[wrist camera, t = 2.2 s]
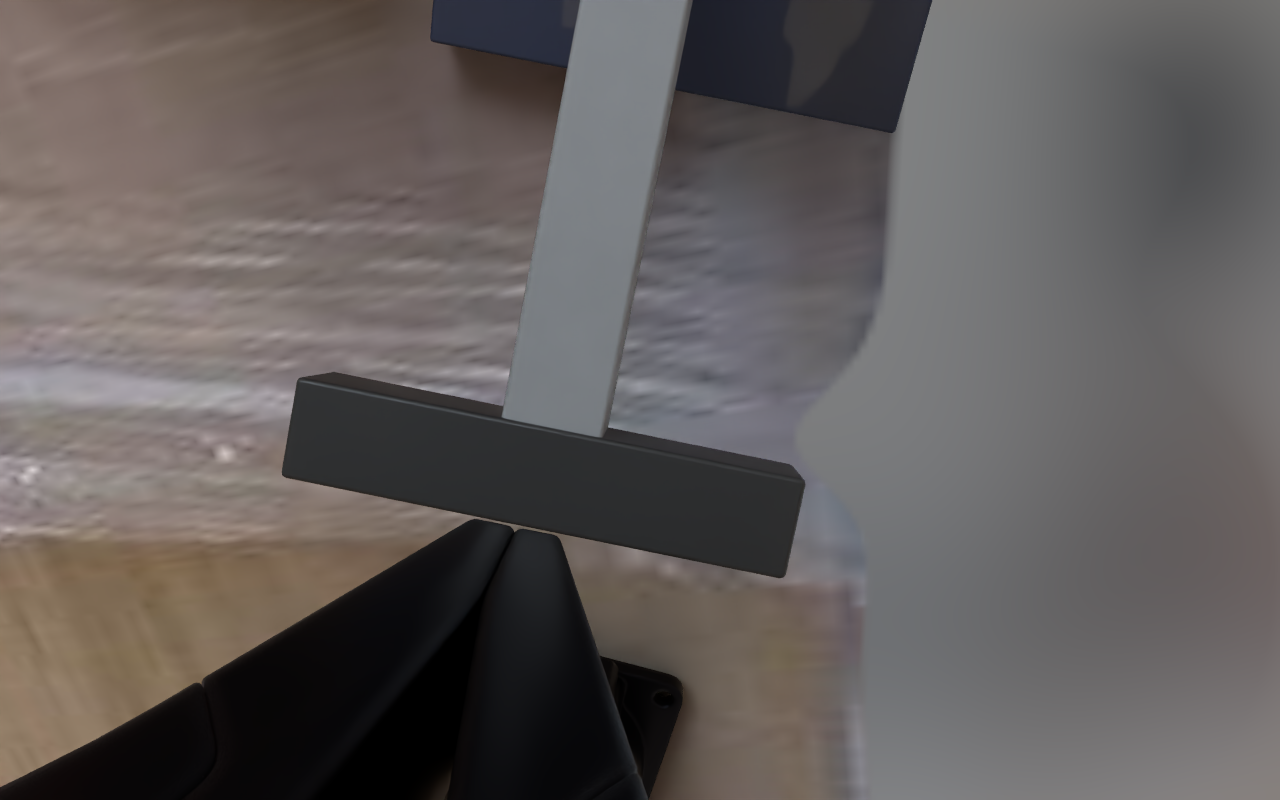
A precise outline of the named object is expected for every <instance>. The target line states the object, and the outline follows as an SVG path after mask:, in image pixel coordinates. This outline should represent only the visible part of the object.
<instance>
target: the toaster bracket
mask: <svg viewBox="0 0 1280 800" xmlns="http://www.w3.org/2000/svg"><path fill="white" fill-rule="evenodd" d="M931 3H932V0H693V2H692V7H691V12H690V17H689V22H688V27H687V32H686V37H685V42H684V47H683V52H682V57H681V62H680V67H679V72H678V77H677V82H676V87H675V90H677V91H682V92H687V93H693V94H698V95H703V96H708V97H713V98H718V99H723V100H728V101H733V102H738V103H743V104H748V105H753V106H758V107H763V108H768V109H773V110H778V111H783V112H788V113H793V114H798V115H803V116H808V117H813V118H818V119H823V120H828V121H833V122H839V123H844V124H849V125H854V126H859V127H864V128H869V129H874V130H879V131H884V132H889V133H893V132H895V130H896V127H897V123H898V120H899V116H900V112H901V109H902V105H903V102H904V98H905V95H906V91H907V88H908V84H909V81H910V77H911V73H912V70H913V66H914V63H915V59H916V55H917V52H918V49H919V45H920V42H921V38H922V34H923V31H924V28H925V24H926V20H927V17H928V14H929V10H930V6H931ZM579 4H580V0H433V11H432V23H431V35H430V39H431V41H433V42H436V43H441V44H446V45H451V46H456V47H461V48H466V49H471V50H476V51H481V52H486V53H491V54H496V55H501V56H506V57H511V58H516V59H521V60H526V61H531V62H536V63H541V64H547V65H552V66H557V67H562V68H567V67H568V62H569V57H570V51H571V46H572V41H573V36H574V30H575V25H576V20H577V14H578V9H579Z"/></svg>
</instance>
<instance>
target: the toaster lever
mask: <svg viewBox="0 0 1280 800" xmlns="http://www.w3.org/2000/svg"><path fill="white" fill-rule="evenodd" d="M692 2H693V0H580V4H579V9H578V14H577V20H576V25H575V30H574V36H573V41H572V46H571V51H570V57H569V62H568V67H567V73H566V78H565V83H564V88H563V94H562V99H561V104H560V110H559V115H558V120H557V126H556V131H555V136H554V141H553V147H552V152H551V157H550V163H549V168H548V173H547V178H546V184H545V189H544V194H543V200H542V205H541V210H540V216H539V221H538V226H537V231H536V237H535V242H534V247H533V253H532V258H531V263H530V268H529V274H528V279H527V284H526V290H525V295H524V300H523V305H522V311H521V316H520V321H519V327H518V332H517V337H516V343H515V348H514V353H513V358H512V364H511V369H510V374H509V380H508V385H507V390H506V395H505V401H504V406H499V405H494V404H489V403H484V402H480V401H475V400H470V399H465V398H460V397H455V396H450V395H445V394H440V393H435V392H430V391H425V390H420V389H415V388H410V387H405V386H400V385H396V384H391V383H386V382H381V381H376V380H371V379H366V378H361V377H356V376H351V375H346V374H341V373H336V372H332V373H326V374H320V375H314V376H308V377H302V378H299V379H298V381H297V385H296V391H295V397H294V403H293V409H292V414H291V420H290V426H289V432H288V438H287V444H286V450H285V456H284V461H283V467H282V476H284V477H286V478H290V479H295V480H300V481H305V482H310V483H315V484H320V485H324V486H329V487H334V488H339V489H344V490H349V491H354V492H359V493H364V494H369V495H374V496H378V497H383V498H388V499H393V500H398V501H403V502H408V503H413V504H418V505H423V506H428V507H432V508H437V509H442V510H447V511H452V512H457V513H462V514H467V515H472V516H477V517H482V518H486V519H491V520H496V521H501V522H506V523H511V524H516V525H521V526H526V527H531V528H536V529H540V530H545V531H550V532H555V533H560V534H565V535H570V536H575V537H580V538H585V539H590V540H594V541H599V542H604V543H609V544H614V545H619V546H624V547H629V548H634V549H639V550H644V551H648V552H653V553H658V554H663V555H668V556H673V557H678V558H683V559H688V560H693V561H698V562H702V563H707V564H712V565H717V566H722V567H727V568H732V569H737V570H742V571H747V572H752V573H756V574H761V575H766V576H771V577H776V578H783V577H784V576H785V575H786V571H787V567H788V562H789V557H790V553H791V548H792V544H793V539H794V535H795V530H796V525H797V521H798V516H799V512H800V507H801V502H802V498H803V493H804V489H805V480H804V479H803V478H802V477H801V475H800V474H799V473H798V472H797V471H796V470H795V468H794V467H793V466H792V465H790V464H786V463H781V462H776V461H771V460H766V459H761V458H756V457H751V456H746V455H741V454H736V453H731V452H727V451H722V450H717V449H712V448H707V447H702V446H697V445H692V444H687V443H682V442H677V441H672V440H667V439H662V438H657V437H652V436H647V435H643V434H638V433H633V432H628V431H623V430H618V429H613V428H608V424H609V419H610V414H611V409H612V404H613V399H614V394H615V389H616V384H617V379H618V374H619V369H620V364H621V359H622V354H623V349H624V344H625V339H626V334H627V329H628V324H629V319H630V314H631V309H632V304H633V299H634V293H635V288H636V283H637V278H638V273H639V268H640V263H641V258H642V253H643V248H644V243H645V238H646V233H647V228H648V223H649V218H650V213H651V208H652V203H653V198H654V193H655V188H656V183H657V178H658V173H659V168H660V163H661V158H662V153H663V148H664V143H665V137H666V132H667V127H668V122H669V117H670V112H671V107H672V102H673V97H674V92H675V87H676V82H677V77H678V72H679V67H680V62H681V57H682V52H683V47H684V42H685V37H686V32H687V27H688V22H689V17H690V12H691V7H692Z"/></svg>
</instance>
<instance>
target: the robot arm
mask: <svg viewBox="0 0 1280 800" xmlns="http://www.w3.org/2000/svg"><path fill="white" fill-rule="evenodd" d="M661 691H662V692H667V693H669V694H671V695H669V696H661V695H659V694H657V693H658V692H661ZM682 699H683V686H682V683H681V682H680V681H679V680H678V679H677V678H676V677H674V676H672V675H670V674H666V673H662V672H659V671H655V670H651V669H647V668H643V667H640V666H636V665H632V664H628V663H624V662H621V661H617V660H613V659H609V658H605V657H602V656H599V653H598V650H597V647H596V644H595V641H594V638H593V635H592V632H591V629H590V626H589V623H588V620H587V617H586V615H585V612H584V609H583V606H582V603H581V600H580V597H579V594H578V591H577V588H576V585H575V582H574V579H573V576H572V573H571V570H570V567H569V564H568V561H567V558H566V555H565V552H564V549H563V546H562V543H561V541H560V539H559V538H558V537H557V536H555V535H552V534H547V533H542V532H537V531H532V530H527V529H519V530H517V531H516V532H515V533H514V530H513V529H512V528H511V527H510V526H507V525H502V524H497V523H493V522H488V521H483V520H478V519H473V520H470V521H467V522H466V523H464V524H462V525H461V526H459V527H457V528H456V529H454V530H452V531H451V532H449V533H447V534H445V535H444V536H442V537H440V538H439V539H437V540H435V541H434V542H432V543H430V544H429V545H427V546H425V547H424V548H422V549H420V550H418V551H417V552H415V553H413V554H412V555H410V556H408V557H407V558H405V559H403V560H402V561H400V562H398V563H397V564H395V565H393V566H392V567H390V568H388V569H386V570H385V571H383V572H381V573H380V574H378V575H376V576H375V577H373V578H371V579H370V580H368V581H366V582H365V583H363V584H361V585H360V586H358V587H356V588H354V589H353V590H351V591H349V592H348V593H346V594H344V595H343V596H341V597H339V598H338V599H336V600H334V601H333V602H331V603H329V604H327V605H326V606H324V607H322V608H321V609H319V610H317V611H316V612H314V613H312V614H311V615H309V616H307V617H306V618H304V619H302V620H301V621H299V622H297V623H295V624H294V625H292V626H290V627H289V628H287V629H285V630H284V631H282V632H280V633H279V634H277V635H275V636H274V637H272V638H270V639H268V640H267V641H265V642H263V643H262V644H260V645H258V646H257V647H255V648H253V649H252V650H250V651H248V652H247V653H245V654H243V655H242V656H240V657H238V658H236V659H235V660H233V661H231V662H230V663H228V664H226V665H225V666H223V667H221V668H220V669H218V670H216V671H215V672H213V673H211V674H210V675H208V676H206V677H205V678H204V679H203V681H202V685H201V684H200V683H194V684H192V685H190V686H189V687H187V688H185V689H184V690H182V691H180V692H178V693H177V694H175V695H173V696H172V697H170V698H168V699H167V700H165V701H163V702H162V703H160V704H158V705H157V706H155V707H153V708H151V709H149V710H148V711H146V712H144V713H142V714H140V715H139V716H137V717H135V718H133V719H132V720H130V721H128V722H126V723H124V724H123V725H121V726H119V727H117V728H115V729H114V730H112V731H110V732H108V733H107V734H105V735H103V736H101V737H99V738H98V739H96V740H94V741H92V742H90V743H88V744H86V745H84V746H82V747H80V748H78V749H76V750H74V751H72V752H70V753H68V754H66V755H64V756H62V757H60V758H58V759H56V760H54V761H52V762H50V763H48V764H46V765H44V766H42V767H40V768H38V769H36V770H34V771H32V772H30V773H28V774H26V775H24V776H23V777H20V778H18V779H16V780H14V781H12V782H10V783H8V784H6V785H4V786H2V787H0V800H649V797H650V794H651V791H652V788H653V785H654V783H655V780H656V777H657V774H658V771H659V768H660V765H661V763H662V760H663V757H664V754H665V751H666V748H667V746H668V743H669V740H670V737H671V734H672V731H673V728H674V726H675V723H676V720H677V717H678V714H679V711H680V709H681V706H682Z"/></svg>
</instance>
